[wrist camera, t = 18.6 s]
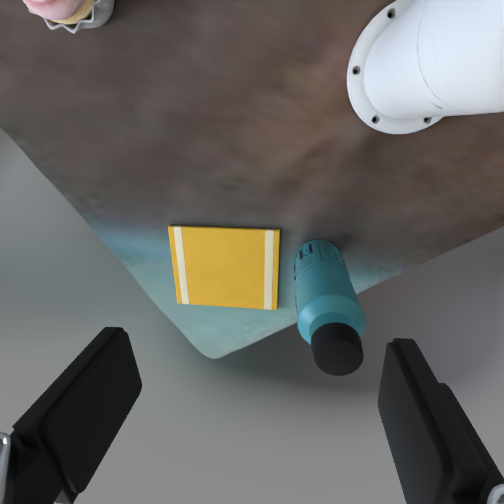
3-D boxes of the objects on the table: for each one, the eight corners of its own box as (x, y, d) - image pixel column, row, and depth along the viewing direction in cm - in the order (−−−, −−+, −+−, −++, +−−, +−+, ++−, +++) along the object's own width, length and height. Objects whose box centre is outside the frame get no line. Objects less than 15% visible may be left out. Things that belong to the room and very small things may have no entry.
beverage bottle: (309, 225, 39) (325, 311, 21) (350, 248, 40) (401, 351, 22) (284, 262, 42) (280, 367, 24) (324, 283, 42) (349, 401, 24)
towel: (280, 229, 40) (279, 230, 39) (277, 307, 45) (276, 310, 45) (169, 225, 42) (167, 226, 41) (178, 301, 47) (177, 303, 46)
